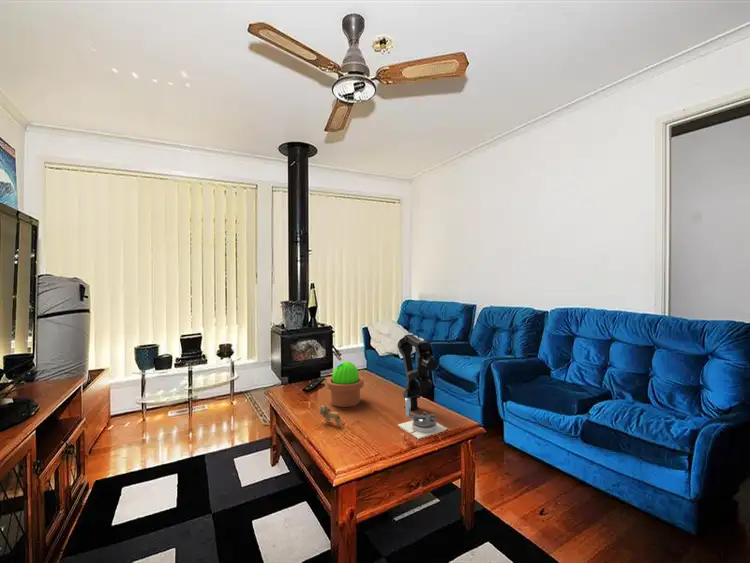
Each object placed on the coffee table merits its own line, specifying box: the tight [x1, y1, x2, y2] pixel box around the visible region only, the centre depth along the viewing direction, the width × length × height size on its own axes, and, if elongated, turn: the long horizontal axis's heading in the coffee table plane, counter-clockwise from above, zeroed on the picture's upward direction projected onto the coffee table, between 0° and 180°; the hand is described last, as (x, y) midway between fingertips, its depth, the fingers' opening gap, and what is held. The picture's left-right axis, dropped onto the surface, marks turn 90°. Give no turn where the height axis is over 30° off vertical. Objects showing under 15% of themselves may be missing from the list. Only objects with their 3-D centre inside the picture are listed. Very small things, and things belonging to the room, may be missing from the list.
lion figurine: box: [318, 405, 345, 428], centre depth 182 cm, size 15×5×9 cm, turn 66°
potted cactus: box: [326, 361, 365, 408], centre depth 212 cm, size 22×22×25 cm
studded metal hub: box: [404, 398, 437, 428], centre depth 175 cm, size 15×11×12 cm
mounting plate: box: [397, 419, 448, 440], centre depth 175 cm, size 17×18×3 cm
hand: (422, 394), depth 187 cm, fingers open, 9 cm apart
